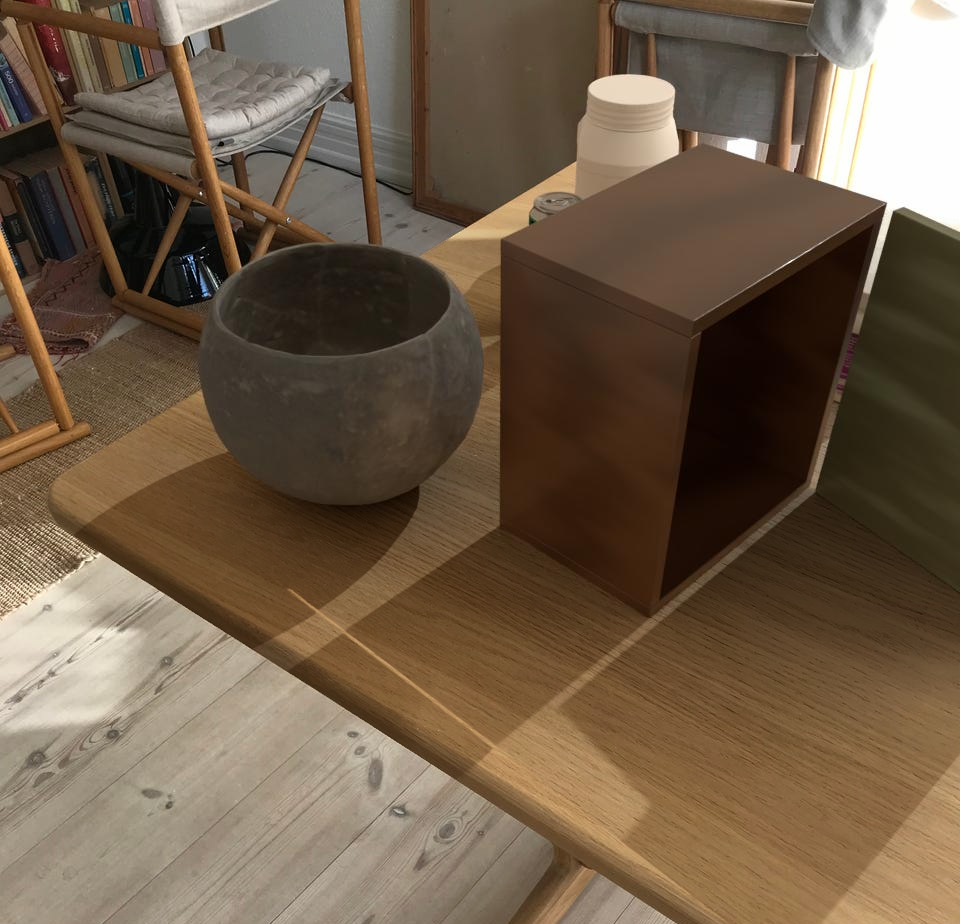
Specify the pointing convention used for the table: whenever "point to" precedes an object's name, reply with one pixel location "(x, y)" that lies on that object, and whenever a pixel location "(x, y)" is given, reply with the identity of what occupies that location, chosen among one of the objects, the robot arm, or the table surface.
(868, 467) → the door
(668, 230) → the cupboard
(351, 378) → the bowl
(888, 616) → the table surface
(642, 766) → the table surface
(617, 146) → the jar
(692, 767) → the table surface
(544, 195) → the soda can
